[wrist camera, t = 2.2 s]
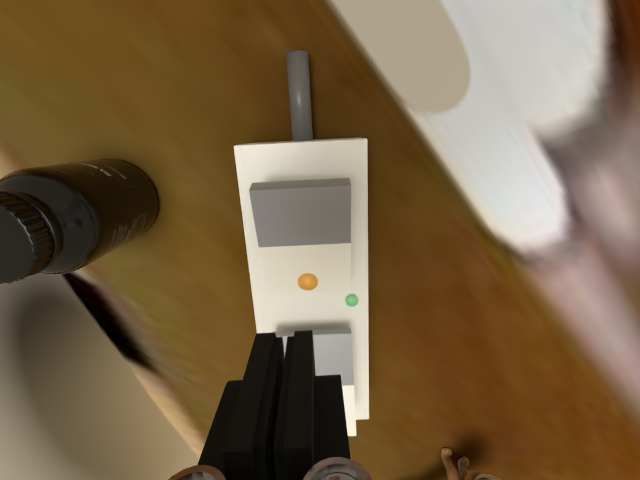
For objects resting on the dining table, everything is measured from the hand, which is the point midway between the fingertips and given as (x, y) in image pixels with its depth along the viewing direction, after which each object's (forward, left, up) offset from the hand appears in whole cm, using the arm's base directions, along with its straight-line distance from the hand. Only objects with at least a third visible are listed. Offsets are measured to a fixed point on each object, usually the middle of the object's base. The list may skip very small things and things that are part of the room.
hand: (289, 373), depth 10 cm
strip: (0, +3, -20) cm, 20 cm away
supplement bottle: (+16, -2, -20) cm, 26 cm away
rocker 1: (0, 0, -14) cm, 14 cm away
